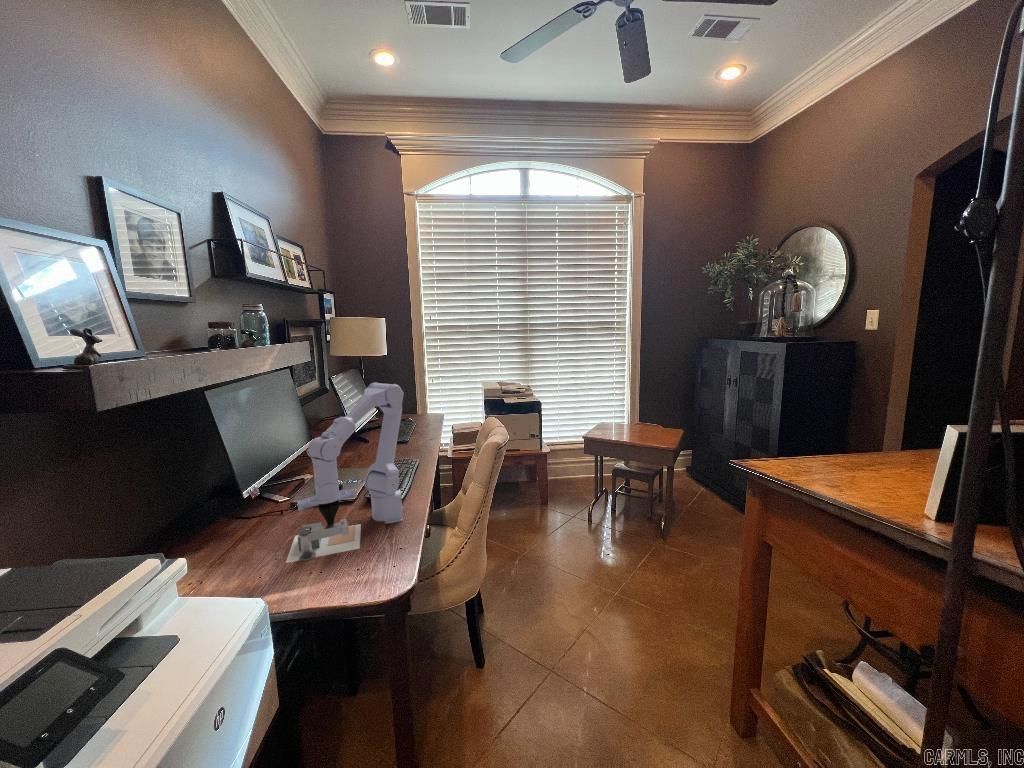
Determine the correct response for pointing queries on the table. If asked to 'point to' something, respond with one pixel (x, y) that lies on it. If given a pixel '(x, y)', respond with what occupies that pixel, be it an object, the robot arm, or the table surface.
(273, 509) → the table surface
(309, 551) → the latch
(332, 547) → the board
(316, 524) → the grey rectangular block
